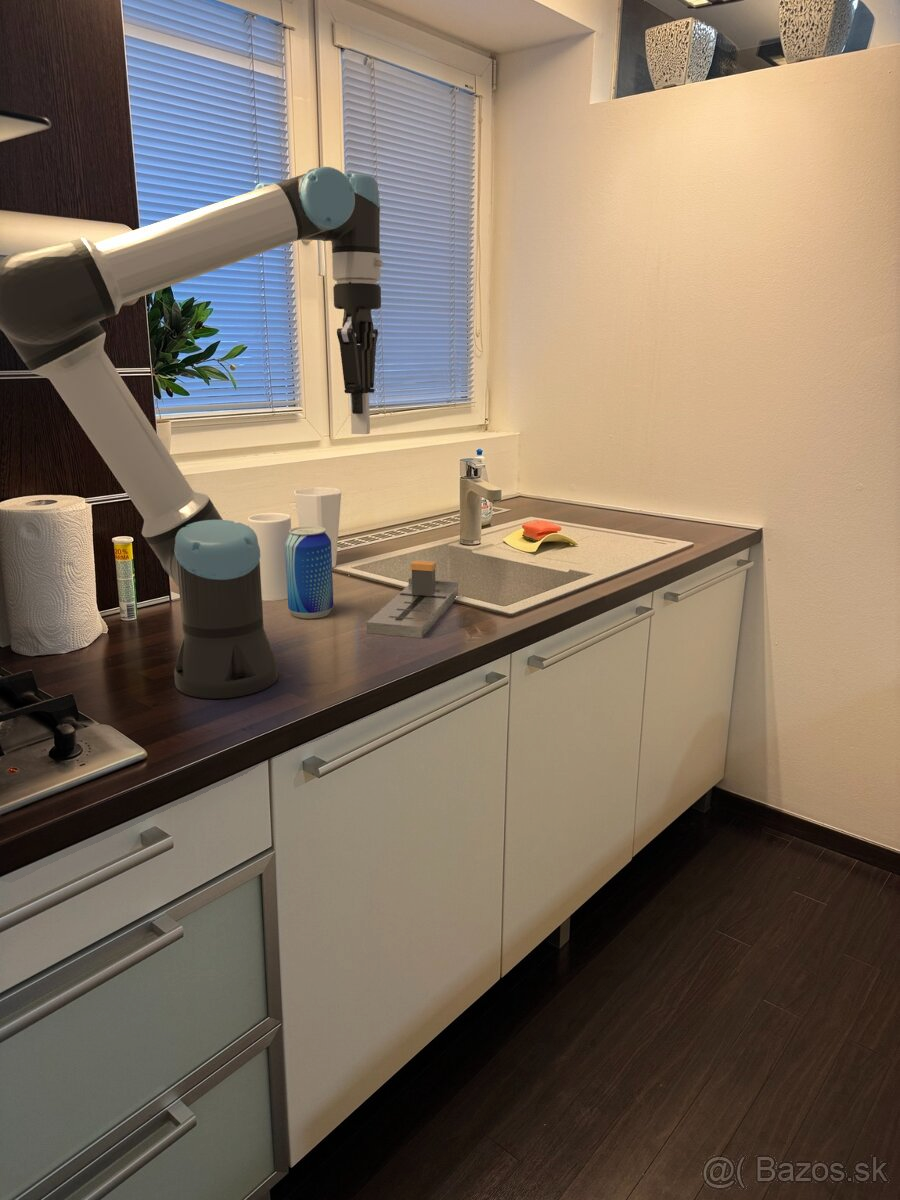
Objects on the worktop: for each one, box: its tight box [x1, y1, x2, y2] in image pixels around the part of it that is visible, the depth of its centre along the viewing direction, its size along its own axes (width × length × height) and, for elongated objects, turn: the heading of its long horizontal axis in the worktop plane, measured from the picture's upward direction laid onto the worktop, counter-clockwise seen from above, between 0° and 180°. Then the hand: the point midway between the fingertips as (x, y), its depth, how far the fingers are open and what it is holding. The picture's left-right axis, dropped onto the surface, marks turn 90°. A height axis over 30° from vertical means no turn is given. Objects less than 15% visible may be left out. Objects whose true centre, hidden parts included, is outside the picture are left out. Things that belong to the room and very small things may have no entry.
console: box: [366, 576, 459, 639], centre depth 162 cm, size 26×10×3 cm, turn 165°
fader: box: [410, 560, 437, 596], centre depth 166 cm, size 3×4×6 cm, turn 75°
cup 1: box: [247, 512, 292, 602], centre depth 171 cm, size 8×8×16 cm
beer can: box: [285, 526, 334, 620], centre depth 160 cm, size 8×8×16 cm
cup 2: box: [293, 486, 342, 569], centre depth 193 cm, size 11×10×17 cm
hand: (360, 433), depth 144 cm, fingers closed
